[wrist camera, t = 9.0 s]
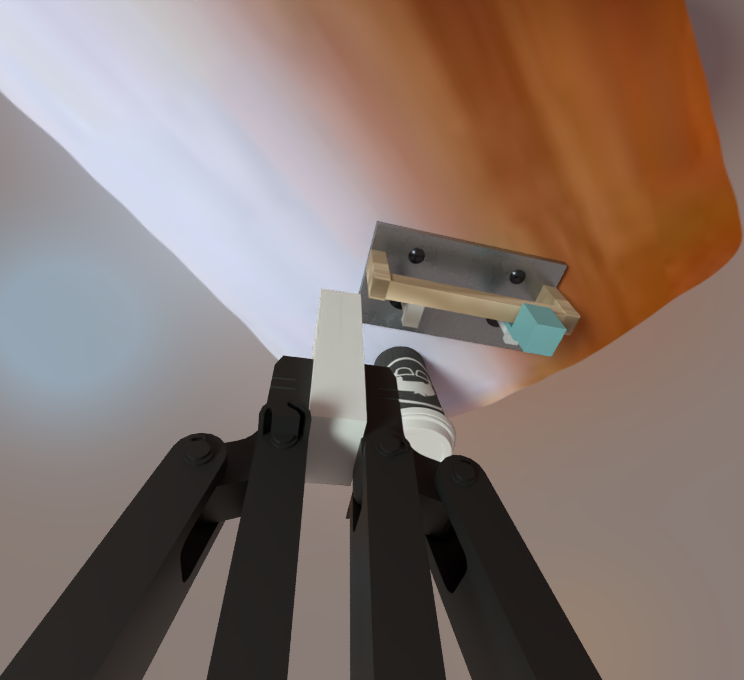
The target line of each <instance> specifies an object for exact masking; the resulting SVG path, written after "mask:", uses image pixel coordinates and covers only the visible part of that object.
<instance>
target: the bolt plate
mask: <svg viewBox="0 0 744 680" xmlns="http://www.w3.org/2000/svg"><path fill="white" fill-rule="evenodd" d="M371 249H372V250H377V251H382V252H386V256H387V262H388V267H389V272H390V273H392V274H397V275H402V276H407V277H412V278H417V279H422V280H427V281H432V282H437V283H442V284H447V285H452V286H457V287H462V288H467V289H472V290H477V291H482V292H487V293H492V294H497V295H502V296H507V297H512V298H517V299H522V300H527V301H532V302H535V301H536V299H537V297H538V295H539V293H540V291H541V289H542V287H543V285H546V286H551V287H557V285H558V283H559V281H560V279H561V277H562V275H563V273H564V271H565V270H566V268H567V265H566V264H565V263H564V262H561V261H557V260H552V259H548V258H543V257H539V256H534V255H529V254H525V253H520V252H516V251H511V250H507V249H502V248H497V247H493V246H488V245H484V244H479V243H475V242H470V241H465V240H461V239H456V238H452V237H447V236H443V235H438V234H433V233H429V232H424V231H420V230H415V229H411V228H406V227H401V226H397V225H392V224H388V223H383V222H379V221H377V223H376V227H375V231H374V235H373V239H372V243H371V247H370V251H369V255H368V259H367V263H366V267H365V271H364V275H363V279H362V283H361V287H360V291H359V294H361V309H362V323H367V324H373V325H378V326H384V327H390V328H395V329H401V330H407V331H412V332H418V333H424V334H429V335H435V336H441V337H446V338H452V339H457V340H463V341H469V342H474V343H480V344H486V345H491V346H497V347H503V348H508V349H514V350H520V351H523V350H522V348H521V347H520V345H519V343H518V345H512V344H507V343H505V342H504V340H503V336H504V333H503V331H502V329H501V327H500V325H499V324H498V322H497V320H494V319H489V318H483V317H478V316H473V315H467V314H462V313H457V312H451V311H446V310H441V309H435V308H430V307H425V308H424V310H423V313H422V316H421V319H420V322H419V325H418V328H413V327H408V326H402V321H401V319H402V316H403V309H402V305H401V302H398V301H393V300H388V299H385V301H383V300H378V299H372V298H369V294H368V283H367V273H366V268H367V264H368V260H369V256H370V252H371Z"/></svg>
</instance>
